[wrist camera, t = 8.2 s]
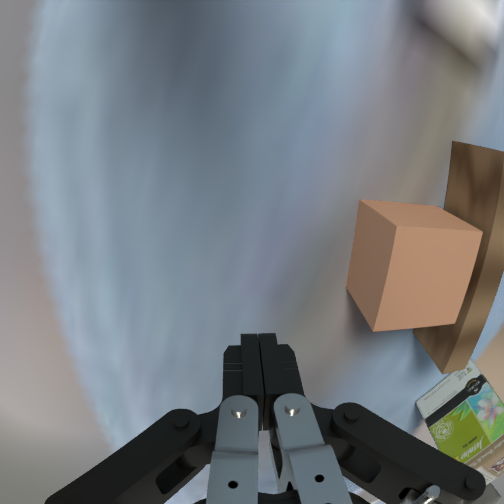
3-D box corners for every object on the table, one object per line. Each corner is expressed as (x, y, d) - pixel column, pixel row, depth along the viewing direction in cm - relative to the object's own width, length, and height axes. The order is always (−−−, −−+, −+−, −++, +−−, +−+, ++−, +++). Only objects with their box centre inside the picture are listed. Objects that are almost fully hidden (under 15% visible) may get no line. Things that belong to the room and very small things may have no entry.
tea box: (411, 402, 36) (453, 487, 22) (469, 354, 34) (525, 431, 20) (444, 429, 41) (477, 493, 27) (490, 391, 38) (531, 451, 24)
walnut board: (452, 140, 23) (504, 151, 17) (474, 146, 23) (526, 159, 17) (412, 332, 31) (442, 374, 24) (434, 329, 31) (464, 369, 25)
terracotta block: (358, 199, 25) (396, 226, 19) (436, 206, 26) (482, 231, 19) (345, 286, 28) (372, 331, 22) (418, 284, 29) (454, 323, 22)
